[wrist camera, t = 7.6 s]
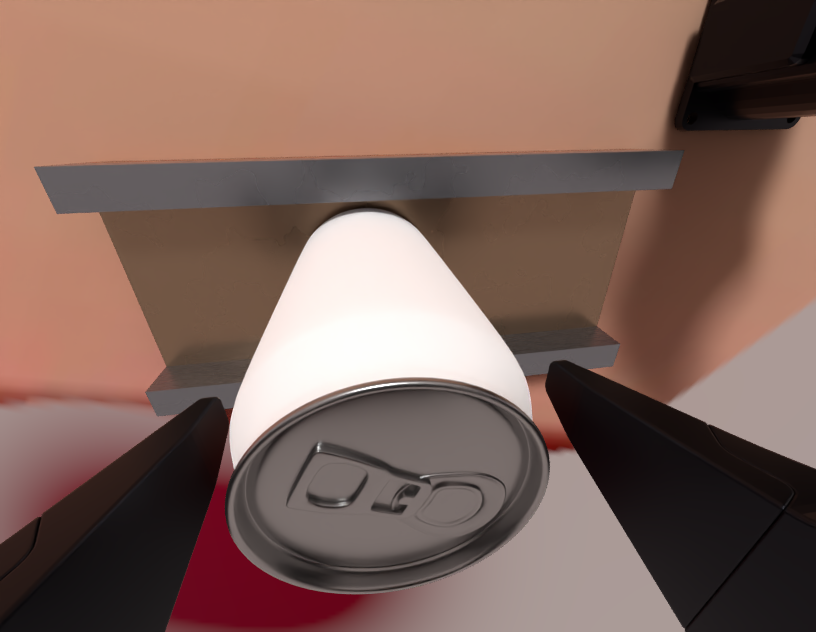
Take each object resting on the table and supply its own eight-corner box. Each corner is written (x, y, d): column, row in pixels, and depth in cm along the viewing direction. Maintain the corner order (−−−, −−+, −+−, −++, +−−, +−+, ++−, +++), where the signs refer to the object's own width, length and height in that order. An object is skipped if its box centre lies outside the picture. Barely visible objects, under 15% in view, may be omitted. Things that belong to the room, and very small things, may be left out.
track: (631, 149, 16) (684, 150, 14) (581, 338, 22) (612, 366, 19) (95, 161, 14) (33, 166, 11) (185, 377, 19) (157, 416, 16)
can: (397, 346, 19) (456, 614, 8) (281, 304, 16) (152, 593, 6) (456, 243, 16) (648, 426, 6) (331, 178, 14) (270, 281, 4)
